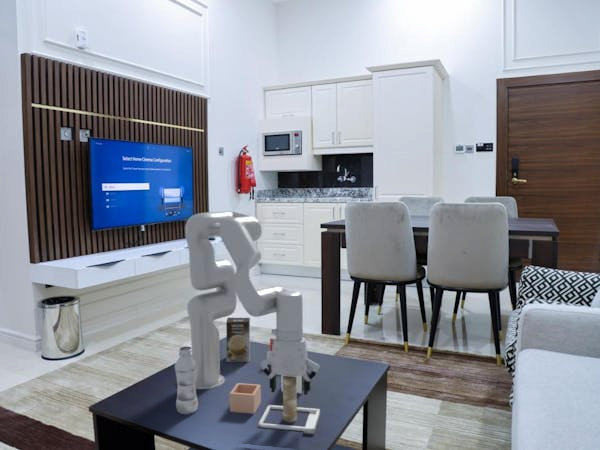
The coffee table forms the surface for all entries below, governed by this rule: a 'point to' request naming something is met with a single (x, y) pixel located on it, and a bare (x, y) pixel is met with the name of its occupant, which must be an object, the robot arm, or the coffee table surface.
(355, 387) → the coffee table surface
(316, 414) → the tray
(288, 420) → the dowel
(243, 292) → the robot arm
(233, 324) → the coffee box
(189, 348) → the plastic bottle
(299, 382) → the medicine bottle
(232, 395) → the pen pot
